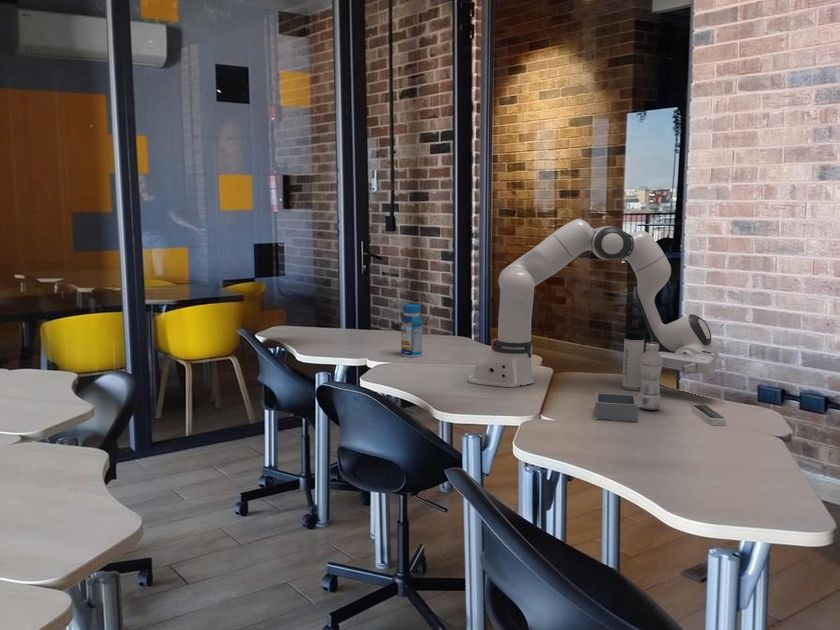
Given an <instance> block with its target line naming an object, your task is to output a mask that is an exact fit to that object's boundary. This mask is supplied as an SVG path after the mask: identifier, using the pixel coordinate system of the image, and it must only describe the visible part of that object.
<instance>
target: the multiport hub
mask: <svg viewBox="0 0 840 630" xmlns="http://www.w3.org/2000/svg"><path fill="white" fill-rule="evenodd" d="M690 408H691V410H690V411H692V412H691V413H693V414H694V413H695V414H696V415H695V414H694V415H695V416H697V417H698V416H699V417H700V419H701V420H702V419H703V420H702V421H703V422H705V421H706V422H707V425H709V424H710V425H709V426H726V421H727V419H726V418H725V417H724V416H723V415H721V414H720V413H719V412H717V411H715V410H714V409H712V408H711V407H709V406H708V405H707V404H693V405H692V404H691V407H690ZM699 417H698V418H699ZM706 422H705V423H706Z"/></svg>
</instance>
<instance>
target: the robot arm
mask: <svg viewBox="0 0 840 630" xmlns="http://www.w3.org/2000/svg"><path fill="white" fill-rule="evenodd" d="M587 251H588V252H590V253H591V254H593V255H595V256H596V257H597V258H599V259H600V260H601V259H602V260H605V261H614V260H619V259H622V258H623V259H625V260H626V261H627V262H628V263H629V265H630V267H631V269H632V270H633V272H634V273H635V277H636V280H637V281H636V282H637V285H636V286H635V290H634V292H635V298H636V300H637V303H638V306H639V308H640V311H641V314H642V316H643V319H644V322H645V325H646V327H647V330H648V332H649V336H650V342H656V343H659V350H658V352H659V354H660V356H661V357H662V360H663V365H662V368H667V369H672V370H678V371H679V372H680V373H682V374H685V375H690V374H703V375H712V374H715V370H716V361H717V360H718V357H719V349H718V346H717V345H716V343H715V342H714V341H712V332H711V330H710V327H709V325H708V324H707V322H706V321H705V320H704V319H703V318H702V317H700V315H699V316H698V315H696V314H694V313H691V314H688V315H685V316H683V317H680V318H678V319H676V320H674V321H671V322H669V323H666V324H665V323H663V321H662V319H661V316H660V314H659V311H658V309H657V306H656V302H655V298H656V296H657V295H658V293H659V292H660V291H661V289H663V288H664V286H665V285H666V284H667V283H668V282H669V280H670V277H671V275H672V267H671V264H670V262H669V260H668V258H667V256H666V255H665V253H664V251H663V250H662V248H661V246H660V245H659V244H658V243H657V242H656V240H655V239H654V237H653V236H652V235H651V234H650V233H649V232H647V231H645V230H638V231H635V232H632V233H631V234H630V233H628V232H626V231H624V230H623V229H620V227H617V226H613V225H605V226H600V227H594V228H593V227H592V226H591V225H590V224H589V223H588V222H586V221H585V220H584V219H580V218H577V219H573V220H571V221H570V222H567V223H566V224H564V225H562V226H561V227H559V228H557V229H556V230H555V231H553V232H552V233H551V234H549V235H548V236H547V237H546V238H545V239H543V240H542V241H540V243H539V244H537V245H536V246H535V247H533V248H531V249H530V250H529V251H527V252H526V253H524V254H523V255H521V256H519V257H518V258H517V259H516V260H514V261H513V262H512V263H510V264H509V265H507V266H506V267H505V268H504V269H502V270H501V272H500V273H499V276H498V287H499V304H498V305H499V306H498V319H497V320H498V321H497V322H498V323H497V338H496V337H495V338H493V339H491V350H490V351H489V352H488V353H485V355H483V356H481V357H480V358H479V359H478V360H477V362H476V363H475V367H474V371H473V372H472V373H470V374H469V375H468V376H467V382H469V384H477V385H485V386H486V385H487V386H493V387H494V386H495V387H503V388H516V387H520V385H522V386H528V385H527V384H529V385H531V383H532V384H534V383H535V379H534V375H533V368H532V356H533V341H532V337H531V336H532V319H533V318H532V317H533V308H534V307H533V306H534V295H535V287H536V286H537V285H539V284H540V283H543V282H544V281H545V280H547V279H549V278H550V277H552V276H554V275H555V274H557V273H558V272H560V271H561V270H562V269H563V268H565V267H566V266H567V265H568V264H569V263H571V262H572V261H573V260H574V259H576V258H577V257H578V256H580V255H581V254H583V253H584V252H587ZM533 382H534V383H533Z"/></svg>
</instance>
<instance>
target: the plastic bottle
mask: <svg viewBox="0 0 840 630" xmlns="http://www.w3.org/2000/svg"><path fill="white" fill-rule="evenodd" d="M644 350H645V351H644V354H643V355H642V357H641V359H640V363H641V364H640V365H641V388H640V390H639V394H638V398H637V404H638V405H639V407H640V408H641V409H644V410H648V411H651V410H652V411H653V410H655V411H656V410H659V409H660V407H661V405H662V397H661V388H660V387H661V386H660V383H661V373H662V369H663V367H662V365H663V360H662V357H661V356H660V354H659V352H658V350H659V343H656V342H651V341H647V342H646V343H645V347H644Z"/></svg>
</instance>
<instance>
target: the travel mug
mask: <svg viewBox="0 0 840 630" xmlns="http://www.w3.org/2000/svg"><path fill="white" fill-rule="evenodd" d="M644 350H645V330H644V329H642V328H639V327H638V328H637V327H636V326H630V327H628V328H625V329H624V341H623V361H622V384H621V388H622V389H624V390H625V389H626V391H631V390H638V391H640V388H641V365H640V364H641V363H640V359H641V357H642V355H643V354H644V353H645V351H644Z"/></svg>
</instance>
